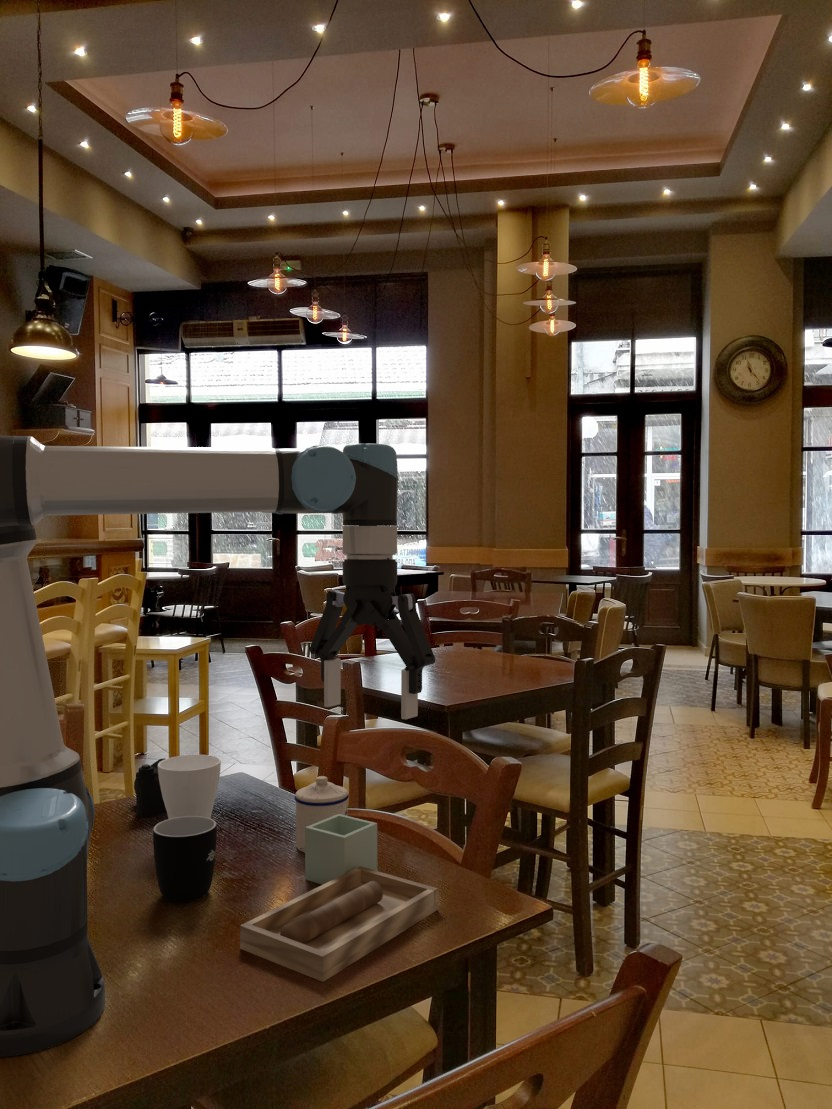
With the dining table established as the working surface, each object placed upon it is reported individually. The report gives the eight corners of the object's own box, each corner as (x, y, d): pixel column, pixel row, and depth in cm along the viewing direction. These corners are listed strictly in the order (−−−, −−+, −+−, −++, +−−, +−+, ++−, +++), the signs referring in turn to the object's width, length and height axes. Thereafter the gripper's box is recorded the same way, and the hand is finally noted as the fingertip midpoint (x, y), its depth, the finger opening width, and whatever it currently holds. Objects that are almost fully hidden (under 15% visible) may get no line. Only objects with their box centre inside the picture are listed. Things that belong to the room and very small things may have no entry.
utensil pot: (344, 891, 128) (344, 837, 128) (305, 879, 133) (305, 827, 133) (377, 874, 135) (377, 823, 134) (338, 863, 139) (338, 813, 139)
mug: (215, 905, 124) (214, 834, 123) (149, 909, 122) (149, 838, 122) (219, 872, 136) (219, 807, 135) (160, 876, 134) (159, 811, 134)
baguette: (385, 930, 120) (295, 951, 107) (369, 929, 122) (278, 950, 109) (383, 880, 122) (294, 895, 109) (367, 880, 124) (277, 894, 110)
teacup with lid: (355, 852, 144) (354, 782, 144) (300, 859, 141) (300, 787, 141) (337, 828, 155) (337, 763, 155) (286, 834, 152) (286, 768, 152)
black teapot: (186, 792, 178) (185, 743, 177) (211, 804, 170) (211, 753, 169) (119, 806, 168) (119, 755, 168) (143, 820, 160) (142, 766, 160)
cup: (189, 856, 142) (188, 773, 142) (144, 844, 148) (144, 765, 147) (234, 836, 151) (233, 759, 151) (190, 826, 157) (190, 751, 156)
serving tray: (323, 981, 103) (322, 956, 102) (240, 948, 111) (240, 925, 111) (437, 909, 122) (437, 888, 122) (360, 886, 130) (360, 866, 130)
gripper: (461, 558, 116) (460, 717, 116) (320, 555, 130) (320, 696, 131) (429, 560, 110) (428, 728, 110) (285, 556, 124) (285, 704, 125)
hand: (369, 711), depth 120 cm, fingers open, 13 cm apart
